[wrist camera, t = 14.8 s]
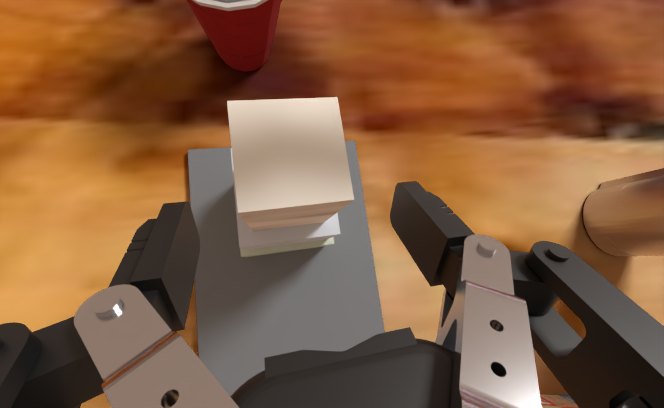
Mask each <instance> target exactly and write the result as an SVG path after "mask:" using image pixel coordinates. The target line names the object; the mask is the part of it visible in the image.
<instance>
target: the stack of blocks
mask: <svg viewBox="0 0 664 408" xmlns="http://www.w3.org/2000/svg"><path fill="white" fill-rule="evenodd" d="M540 398H541V405H542V408H579V407H578V406H577V404H576V403H575V402H574V400H573V399H572V398H571V396H567V395H547V394H540Z"/></svg>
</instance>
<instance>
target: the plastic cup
mask: <svg viewBox="0 0 664 408" xmlns="http://www.w3.org/2000/svg"><path fill="white" fill-rule="evenodd" d="M187 1H188V3H189V5H190V6H191V8H192V10H193V12H194V13H195V15H196V17H197V19H198V20H199V22H200V24H201V26H202V27H203V29H204V31H205V33H206V34H207V36H208V38H209V39H210V40H211V42H212V44H213V46H214V47H215V49H216V51H217V53H218V54H219V56H220V57H221V58H222V60H223V61H224V62H225V63H226V64H227V65H228V66H230V67H231V68H233V69H235V70H239V71H244V72H247V71H255V70H256V69H258V68H260V67H262V66H263V65H264V63H265V62H266V61H267V59H268V57H269V54H270V49H271V44H272V42H273V39H274V34H275V28H276V23H277V18H278V13H279V8H280V3H281V1H282V0H187Z"/></svg>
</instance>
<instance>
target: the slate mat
mask: <svg viewBox="0 0 664 408" xmlns="http://www.w3.org/2000/svg"><path fill="white" fill-rule="evenodd" d="M345 147H346V153H347V159H348V165H349V171H350V177H351V183H352V189H353V195H354V200H353V201H352V202H351V203H349V204H348V205H347V206H345V207H344V208H343V209H341V210H340V211H339V212H337V213H338V220H339V227H340V234H339V235H337V236H334V237H333V238H334V244H331V245H328V246H323V247H316V248H308V249H301V250H294V251H287V252H280V253H273V254H266V255H259V256H251V257H241V253H240V248H239V238H238V227H237V215H236V204H235V193H234V182H233V171H232V159H231V148H232V147H228V148H209V149H191V150H188V165H189V184H190V202H191V210H192V213H193V217H194V220H195V223H196V227H197V230H198V233H199V238H200V253H199V258H198V263H197V268H196V273H195V296H196V314H197V333H198V352H199V359H200V360H201V361H202V362H203V364H204V365H205V366H206V367H207V369H208V370H209V371H210V372H211V374H212V375H213V376H214V377H215V378H216V380H217V381H218V382H219V383H220V385H221V386H222V387H223V388H224V390H225V391H226V392H227V393H228V394H229V396H231V395H232V394H233V393H234V392H235V391H236V390H237V389H238V388H239V387H240V386H241V385H243V384H244V383H245V382H246V381H247V380H249V379H250V378H252V377H253V376H255V375H256V374H258V373H260V372H262V371H264V370H265V361H264V358H266V357H271V356H275V355H280V354H285V353H290V352H294V351H299V350H320V351H346V350H348V349H350V348H352V347H354V346H356V345H357V344H359V343H361V342H363V341H365V340H367V339H369V338H371V337H373V336H375V335H376V334H381V333H385V331H384V325H383V318H382V312H381V305H380V299H379V292H378V286H377V280H376V273H375V267H374V260H373V254H372V247H371V241H370V235H369V228H368V222H367V215H366V209H365V202H364V196H363V189H362V183H361V177H360V170H359V164H358V157H357V151H356V144H355V141H345Z"/></svg>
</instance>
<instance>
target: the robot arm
mask: <svg viewBox="0 0 664 408" xmlns="http://www.w3.org/2000/svg"><path fill="white" fill-rule="evenodd" d="M583 218H584V224H585V228H586V230H587V232H588V235H589V236H590V238H591V240H592V241H593V242H594V243H595V245H596V246H597V247H598V248H600V249H601V250H602V251H604V252H606V253H607V254H610V255H614V256H664V168H663V169H659V170H654V171H650V172H646V173H641V174H637V175H633V176H629V177H624V178H620V179H616V180H612V181H607V182H603V183H601V186H600V188H599V189H598V190H596V191H594V192H592V193H591V194H590V195H589V196H588V198H587V199H586V201H585V205H584V210H583ZM390 219H391V224H392V226H393V228H394V230H395V231H396V233H397V235H398V236H399V238H400V239H401V241H402V242H403V244H404V246H405V247H406V249H407V250H408V252H409V253H410V255H411V256H412V258H413V260H414V261H415V263H416V264H417V266H418V267H419V269H420V271H421V272H422V274H423V275H424V277H425V278H426V280H427V281H428V283H429V285H430V286H436V285H442V284H443V285H444V287H445V291H444V293H443V299H442V306H441V312H440V319H439V326H438V333H437V338H436V342H435V343H434V342H431V341H428V340H423V339H415V337H414V335H413V333H412V331H411V329H410V327H409V328H405V329H400V330H395V331H390V332H385V333H381V334H376V335H375V336H373V337H371V338H369V339H367V340H365V341H363V342H361V343H359V344H357V345H356V346H354V347H352V348H350V349H348V350H346V351H320V350H299V351H294V352H290V353H285V354H280V355H275V356H271V357H266V358H264V361H265V370H264V371H262V372H260V373H258V374H256V375H255V376H253V377H252V378H250V379H249V380H247V381H246V382H245V383H244V384H243V385H241V386H240V387H239V388H238V389H237V390H236V391H235V392H234V393H233V394H232V395H231V396H229V394H228V393H227V392H226V391H225V390H224V388H223V387H222V386H221V385H220V383H219V382H218V381H217V380H216V378H215V377H214V376H213V375H212V374H211V372H210V371H209V370H208V369H207V367H206V366H205V365H204V364H203V362H202V361H201V360H200V359H199V358H198V356H197V355H196V354H195V353H194V351H193V350H192V349H191V348H190V347H189V345H188V344H187V343H186V342H185V340H184V339H183V338H182V337H181V336H180V334H179V333H178V332H176V331H179V330H184V328H185V323H186V318H187V313H188V308H189V303H190V298H191V293H192V288H193V283H194V278H195V273H196V268H197V263H198V258H199V253H200V238H199V233H198V230H197V227H196V223H195V220H194V217H193V213H192V210H191V207H190V204H189V203H188V202H177V203H166V204H163V206H162V208H161V211H160V213H159V215H158V218H157V219H148V220H147V221H146V222H145V223H144V224H143V225H142V226H141V227H139V228H138V229H137V231H136V233H135V235H134V237H133V239H132V243H130V245H129V247H128V249H127V253H125V255H124V257H123V259H122V261H121V263H120V265H119V267H118V269H117V271H116V273H115V275H114V277H113V279H112V281H111V283H110V285H109V287H108V288H106V289H103V290H101V291H99V292H97V293H96V294H94V295H93V296H91V297H90V298H88V299H87V300H86V301H85V302H84V303H83V304H82V305H81V306H80V307H79V309H78V310H77V312H76V314H75V316H74V317H72V318H69V319H67V320H64V321H61V322H59V323H56V324H53V325H51V326H48V327H45V328H43V329H40V330H37V331H34V332H31V331H30V330H29V329H28V328H27V327H26V326H25V325H24V324H21V323H6V324H1V325H0V408H80V406H81V403H84V402H86V401H88V400H90V399H92V398H94V397H96V396H98V395H100V394H102V393H105V395H106V397H107V399H108V401H109V403H110V405H111V407H112V408H542V405H541V398H540V392H539V385H538V378H537V371H536V364H535V358H534V351H533V348H534V349H535V350H536V352H537V353H538V354H539V356H540V357H541V358H542V360H543V361H544V362H545V364H546V365H547V366H548V368H549V369H550V370H551V371H552V373H553V374H554V375H555V377H556V378H557V379H558V381H559V382H560V383H561V385H562V386H563V387H564V389H565V390H566V391H567V393H568V394H569V395H570V396H571V398H572V399H573V400H574V402H575V403H576V404H577V406H578V407H579V408H664V326H663V325H661V324H660V323H659V322H658V321H657V320H655V319H654V318H653V317H652V316H650V315H649V314H648V313H647V312H646V311H644V310H643V309H642V308H641V307H640V306H638V305H637V304H636V303H635V302H633V301H632V300H631V299H630V298H629V297H627V296H626V295H625V294H624V293H623V292H621V291H620V290H619V289H618V288H616V287H615V286H614V285H613V284H612V283H610V282H609V281H608V280H607V279H605V278H604V277H603V276H602V275H601V274H599V273H598V272H597V271H596V270H595V269H593V268H592V267H591V266H590V265H588V264H587V263H586V262H585V261H584V260H582V259H581V258H580V257H579V256H577V255H576V254H575V253H574V252H572V251H571V250H569V249H568V248H566V247H564V246H561V245H559V244H556V243H553V242H548V241H540V242H536V243H535V244H534V245H533V246H532V248H531V250H530V252H519V251H510V250H508V249H507V248H506V247H505V246H504V245H503V244H502V243H501V242H499V241H498V240H496V239H494V238H492V237H489V236H485V235H478V234H474V233H473V232H472V231H471V230H470V229H469V227H468V226H467V225H466V224H465V223H464V222H463V221H462V220H461V219H460V218H459V217H458V216H457V215H456V214H453V211H452V210H451V209H450V208H449V207H447V205H446V204H445V203H444V202H443V201H442V200H441V199H440V198H439V197H437V196H435V195H434V194H432V193H430V192H426V191H425V190H424V188H423V187H422V186H421V185H420V184H419V183H418V182H416V181H412V182H401V183H398V184H397V185H396V187H395V192H394V197H393V202H392V208H391V213H390ZM559 298H560V299H561V300H562V301H563V302H564V303H565V304H566V305H567V306H568V307H569V308H570V309H571V310H572V311H573V312H574V313H575V314H576V315H577V316H578V317H579V318H580V319H581V320H582V322H583V323H584V325H585V328H586V336H585V338H584V339H582V338H581V337H580V336H579V335H578V334H577V333H576V332H575V331H574V330H573V329H572V328H571V326H570V325H569V324H568V323H567V322H566V321H565V320H564V319H563V318H562V317H561V316H560V315H559V314H558V312H557V311H556V310H555V309H554V308H553V306H554V305H555V303H556V302H557V301H558V299H559ZM173 331H175V332H173Z"/></svg>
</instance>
